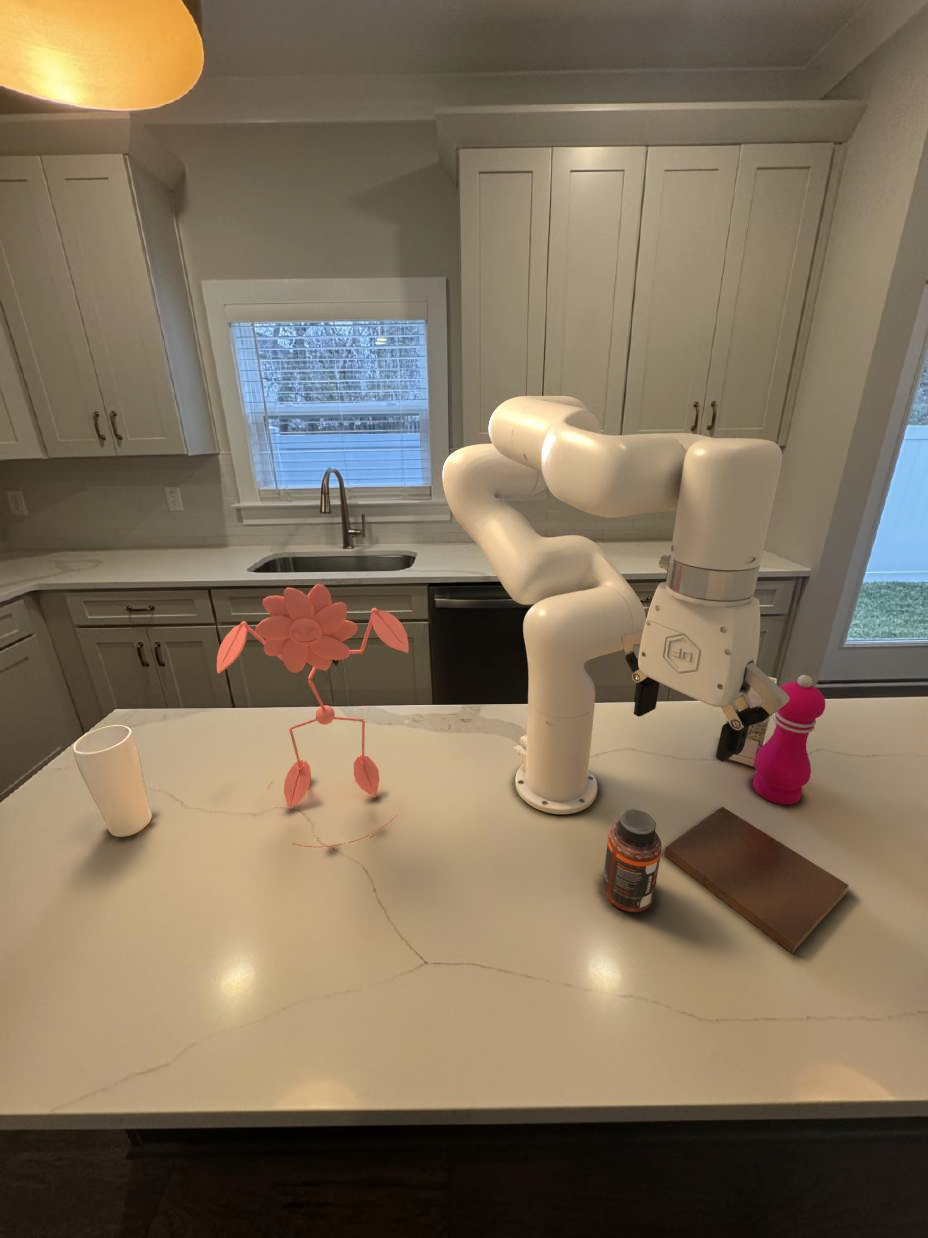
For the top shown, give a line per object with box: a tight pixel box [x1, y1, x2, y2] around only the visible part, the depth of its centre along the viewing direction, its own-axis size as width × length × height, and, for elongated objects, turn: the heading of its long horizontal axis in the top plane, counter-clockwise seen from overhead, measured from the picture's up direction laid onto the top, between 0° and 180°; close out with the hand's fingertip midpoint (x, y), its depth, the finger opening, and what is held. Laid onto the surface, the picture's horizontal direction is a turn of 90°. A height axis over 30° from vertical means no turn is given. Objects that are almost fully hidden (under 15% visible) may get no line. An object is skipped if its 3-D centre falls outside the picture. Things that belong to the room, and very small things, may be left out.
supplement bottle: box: [602, 808, 663, 913], centre depth 60 cm, size 6×6×11 cm
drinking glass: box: [72, 724, 153, 838], centre depth 71 cm, size 7×7×15 cm
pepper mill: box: [752, 674, 826, 805], centre depth 74 cm, size 7×7×20 cm
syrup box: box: [726, 676, 778, 769], centre depth 83 cm, size 6×6×14 cm
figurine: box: [216, 583, 409, 851], centre depth 69 cm, size 15×26×35 cm, turn 97°
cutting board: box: [664, 806, 850, 954], centre depth 64 cm, size 16×13×2 cm
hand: (683, 732), depth 54 cm, fingers open, 9 cm apart
